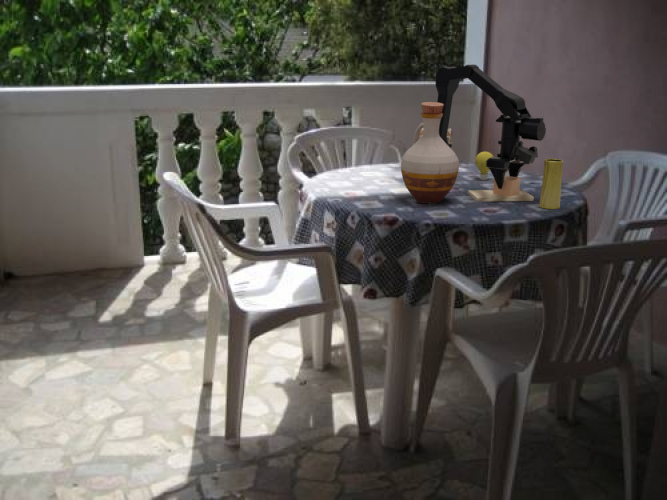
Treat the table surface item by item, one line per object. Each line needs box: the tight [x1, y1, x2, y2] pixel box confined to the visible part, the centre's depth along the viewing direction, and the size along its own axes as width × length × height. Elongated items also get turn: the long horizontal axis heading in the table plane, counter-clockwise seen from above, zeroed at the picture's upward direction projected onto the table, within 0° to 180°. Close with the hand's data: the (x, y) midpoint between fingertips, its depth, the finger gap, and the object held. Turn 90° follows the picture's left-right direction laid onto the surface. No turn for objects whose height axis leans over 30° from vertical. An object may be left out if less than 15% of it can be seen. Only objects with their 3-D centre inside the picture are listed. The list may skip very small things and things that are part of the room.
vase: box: [538, 158, 564, 210], centre depth 213 cm, size 6×6×14 cm
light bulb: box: [474, 151, 494, 181], centre depth 254 cm, size 7×7×10 cm
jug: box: [400, 101, 460, 204], centre depth 219 cm, size 20×18×30 cm
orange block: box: [492, 176, 522, 196], centre depth 227 cm, size 6×6×5 cm
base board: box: [467, 189, 534, 203], centre depth 227 cm, size 18×11×4 cm, turn 95°
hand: (506, 186), depth 227 cm, fingers open, 8 cm apart
